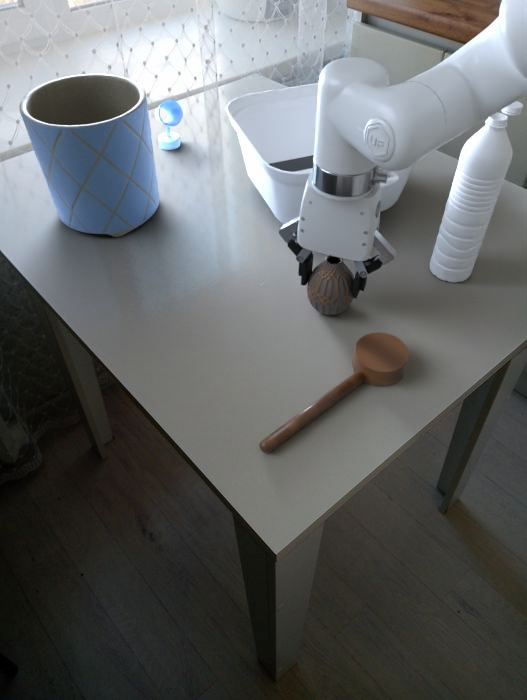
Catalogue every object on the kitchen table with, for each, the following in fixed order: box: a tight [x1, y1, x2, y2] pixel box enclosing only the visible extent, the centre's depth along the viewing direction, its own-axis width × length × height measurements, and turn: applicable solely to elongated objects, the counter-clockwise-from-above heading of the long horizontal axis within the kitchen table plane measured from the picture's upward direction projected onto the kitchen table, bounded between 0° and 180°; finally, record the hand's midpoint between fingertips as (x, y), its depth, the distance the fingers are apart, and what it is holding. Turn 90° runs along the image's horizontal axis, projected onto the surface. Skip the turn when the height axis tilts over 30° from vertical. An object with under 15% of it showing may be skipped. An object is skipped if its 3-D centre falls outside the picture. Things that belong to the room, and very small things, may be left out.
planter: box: [19, 73, 160, 238], centre depth 92 cm, size 19×19×20 cm
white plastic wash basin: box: [225, 82, 417, 225], centre depth 96 cm, size 34×29×15 cm
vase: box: [306, 255, 355, 316], centre depth 79 cm, size 7×7×9 cm
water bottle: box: [429, 100, 524, 283], centre depth 79 cm, size 9×6×25 cm
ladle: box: [259, 331, 410, 454], centre depth 70 cm, size 24×7×3 cm, turn 131°
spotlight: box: [154, 98, 184, 151], centre depth 112 cm, size 5×10×7 cm
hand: (331, 285), depth 79 cm, fingers closed on vase, 6 cm apart
